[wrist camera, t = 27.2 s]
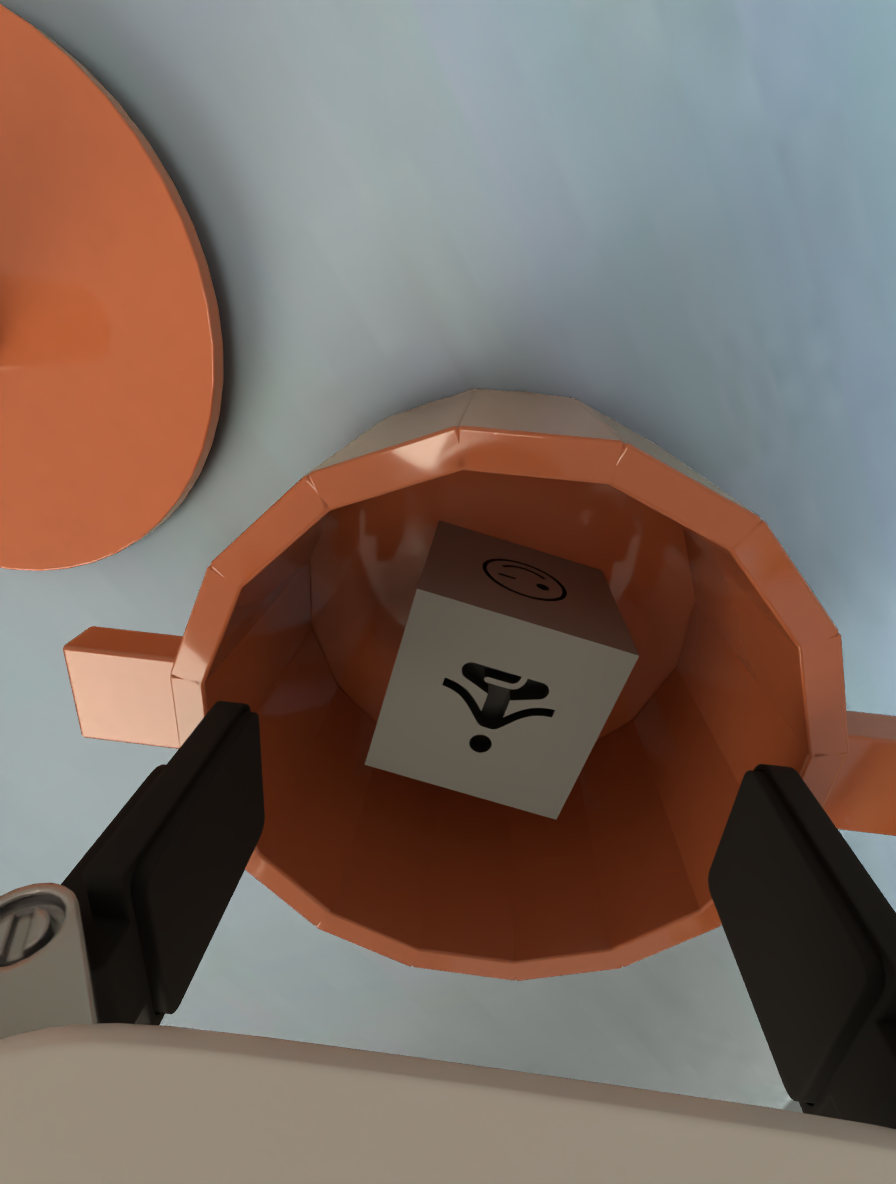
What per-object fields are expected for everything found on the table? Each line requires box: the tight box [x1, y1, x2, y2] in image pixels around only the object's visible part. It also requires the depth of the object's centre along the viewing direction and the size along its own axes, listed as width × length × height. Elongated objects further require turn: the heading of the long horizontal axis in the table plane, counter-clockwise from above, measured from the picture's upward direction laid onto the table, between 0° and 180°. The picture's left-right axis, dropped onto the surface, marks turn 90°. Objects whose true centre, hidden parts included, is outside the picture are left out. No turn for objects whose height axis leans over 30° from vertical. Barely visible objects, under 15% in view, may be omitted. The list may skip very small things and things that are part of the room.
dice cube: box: [365, 520, 639, 820], centre depth 16 cm, size 5×5×5 cm
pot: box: [63, 389, 896, 981], centre depth 15 cm, size 13×18×8 cm
